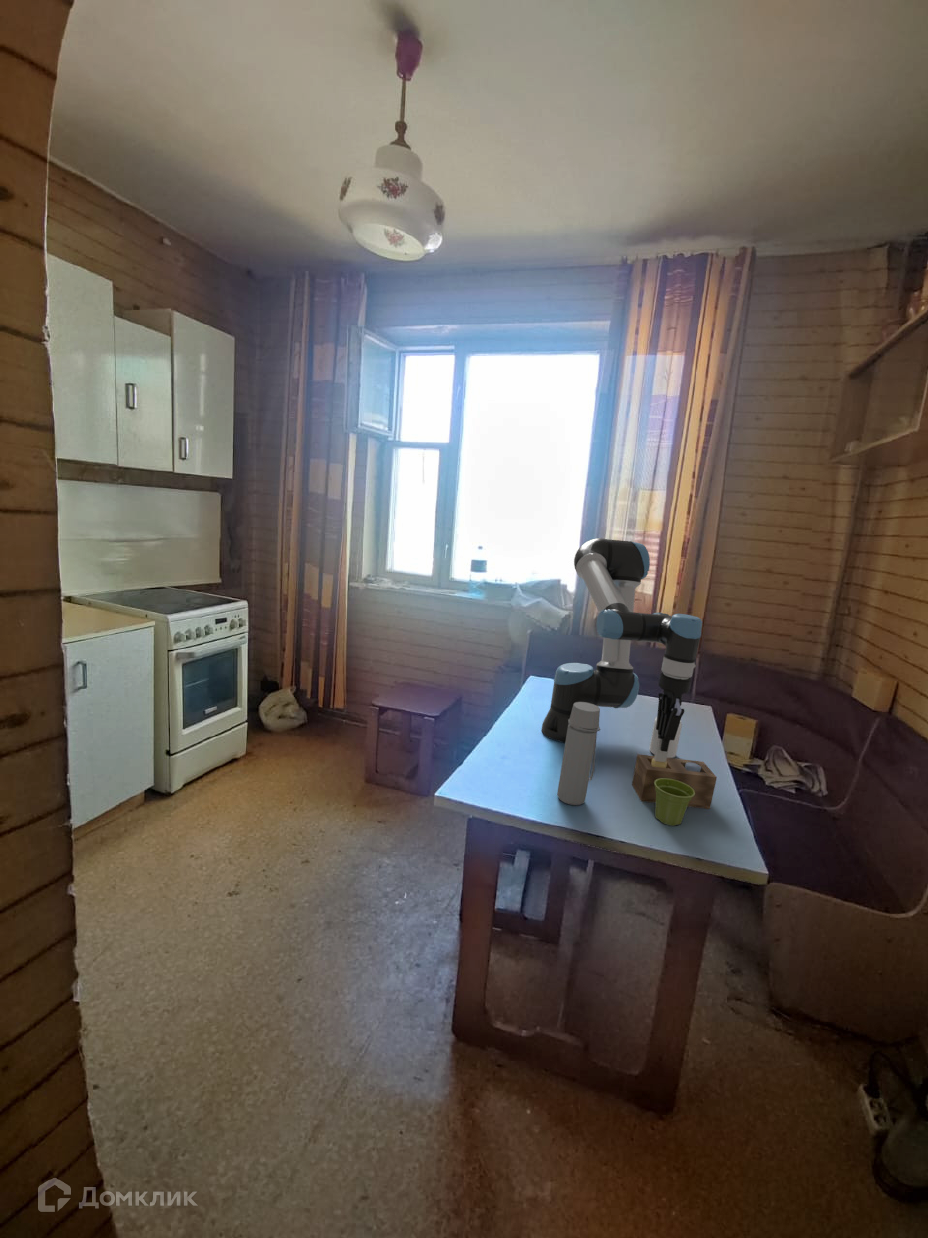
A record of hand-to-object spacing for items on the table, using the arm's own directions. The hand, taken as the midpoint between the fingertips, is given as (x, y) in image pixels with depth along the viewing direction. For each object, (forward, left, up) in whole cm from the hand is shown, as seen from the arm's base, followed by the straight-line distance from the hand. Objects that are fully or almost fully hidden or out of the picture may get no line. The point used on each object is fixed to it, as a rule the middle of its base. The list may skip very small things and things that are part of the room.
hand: (659, 760), depth 151 cm
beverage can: (+11, +29, -10) cm, 32 cm away
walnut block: (+4, 0, -10) cm, 11 cm away
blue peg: (+9, 0, -8) cm, 12 cm away
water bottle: (-23, -7, -10) cm, 26 cm away
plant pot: (0, -12, -10) cm, 16 cm away
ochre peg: (0, 0, -8) cm, 8 cm away
